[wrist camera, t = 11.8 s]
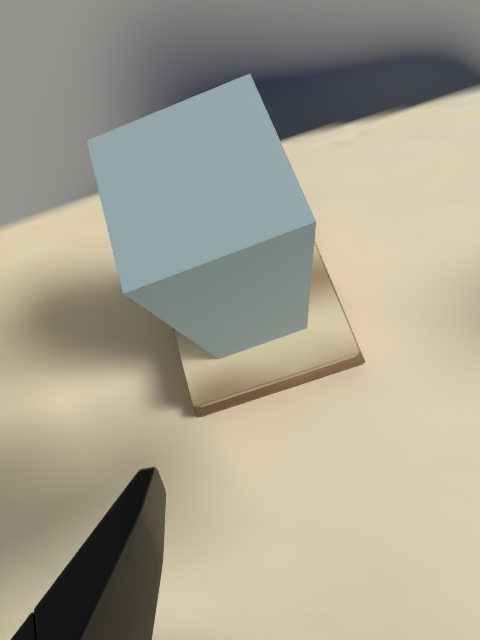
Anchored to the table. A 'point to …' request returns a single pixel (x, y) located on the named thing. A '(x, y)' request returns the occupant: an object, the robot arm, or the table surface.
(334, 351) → the birch slab
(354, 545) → the table surface
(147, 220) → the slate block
